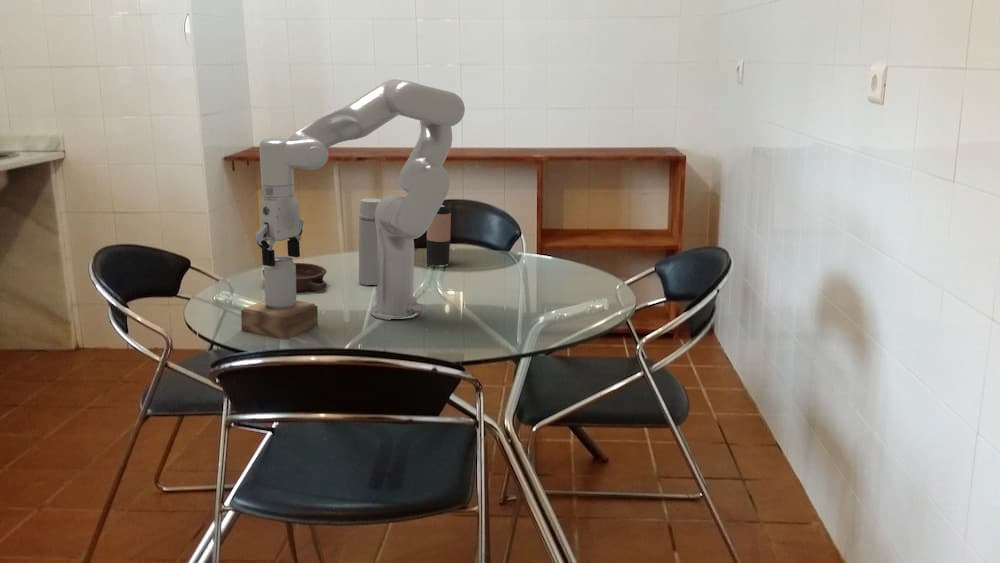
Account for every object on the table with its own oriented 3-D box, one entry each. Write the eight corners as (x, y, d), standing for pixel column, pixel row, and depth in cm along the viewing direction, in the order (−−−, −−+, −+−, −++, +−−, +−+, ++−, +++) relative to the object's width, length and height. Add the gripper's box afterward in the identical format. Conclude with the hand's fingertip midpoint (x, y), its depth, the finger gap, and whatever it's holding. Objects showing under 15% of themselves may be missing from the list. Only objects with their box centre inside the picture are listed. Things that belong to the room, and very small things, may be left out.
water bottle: (371, 288, 252) (372, 203, 246) (352, 283, 257) (352, 199, 250) (393, 282, 259) (394, 200, 253) (374, 277, 264) (375, 196, 257)
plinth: (317, 324, 218) (317, 303, 216) (285, 339, 206) (285, 317, 205) (275, 316, 223) (274, 295, 221) (241, 330, 211) (241, 308, 210)
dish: (285, 274, 264) (284, 258, 262) (344, 285, 254) (344, 269, 253) (244, 286, 248) (244, 269, 247) (306, 299, 239) (305, 282, 238)
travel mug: (423, 262, 285) (425, 202, 280) (446, 261, 287) (448, 202, 282) (428, 268, 278) (430, 206, 273) (451, 267, 280) (454, 206, 275)
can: (258, 306, 211) (257, 258, 208) (279, 299, 218) (278, 253, 215) (282, 312, 208) (281, 263, 205) (302, 304, 215) (302, 257, 212)
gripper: (267, 198, 196) (271, 271, 201) (312, 187, 212) (315, 255, 216) (241, 195, 199) (245, 267, 204) (287, 184, 215) (290, 251, 219)
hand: (281, 261), depth 210 cm, fingers open, 9 cm apart
